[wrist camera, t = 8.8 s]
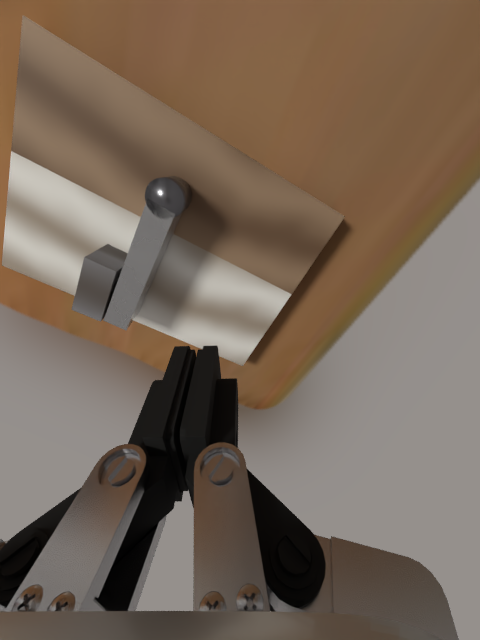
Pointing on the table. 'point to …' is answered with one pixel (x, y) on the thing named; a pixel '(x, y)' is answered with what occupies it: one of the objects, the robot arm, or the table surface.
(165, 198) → the bar
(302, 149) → the table surface
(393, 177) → the table surface
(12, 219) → the door board
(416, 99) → the table surface
